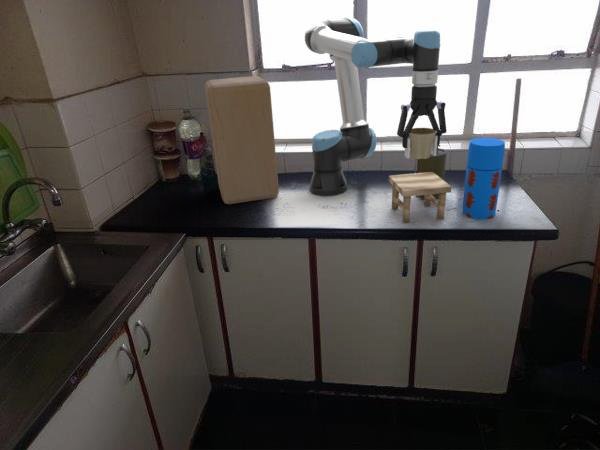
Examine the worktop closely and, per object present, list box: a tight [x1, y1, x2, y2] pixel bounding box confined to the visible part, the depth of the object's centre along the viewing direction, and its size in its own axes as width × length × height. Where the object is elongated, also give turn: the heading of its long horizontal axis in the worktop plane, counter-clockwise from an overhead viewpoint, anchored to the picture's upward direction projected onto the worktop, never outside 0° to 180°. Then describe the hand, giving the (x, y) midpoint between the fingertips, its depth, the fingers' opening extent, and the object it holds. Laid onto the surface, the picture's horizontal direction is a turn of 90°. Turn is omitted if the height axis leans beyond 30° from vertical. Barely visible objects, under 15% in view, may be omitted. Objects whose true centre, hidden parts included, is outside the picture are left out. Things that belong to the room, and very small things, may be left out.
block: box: [204, 75, 280, 205], centre depth 173 cm, size 22×22×45 cm
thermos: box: [461, 137, 506, 221], centre depth 146 cm, size 11×11×25 cm
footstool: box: [388, 172, 452, 224], centre depth 151 cm, size 16×16×12 cm
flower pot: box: [408, 127, 437, 160], centre depth 143 cm, size 9×9×9 cm
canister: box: [414, 144, 448, 201], centre depth 164 cm, size 11×10×20 cm
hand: (420, 156), depth 145 cm, fingers closed on flower pot, 8 cm apart
